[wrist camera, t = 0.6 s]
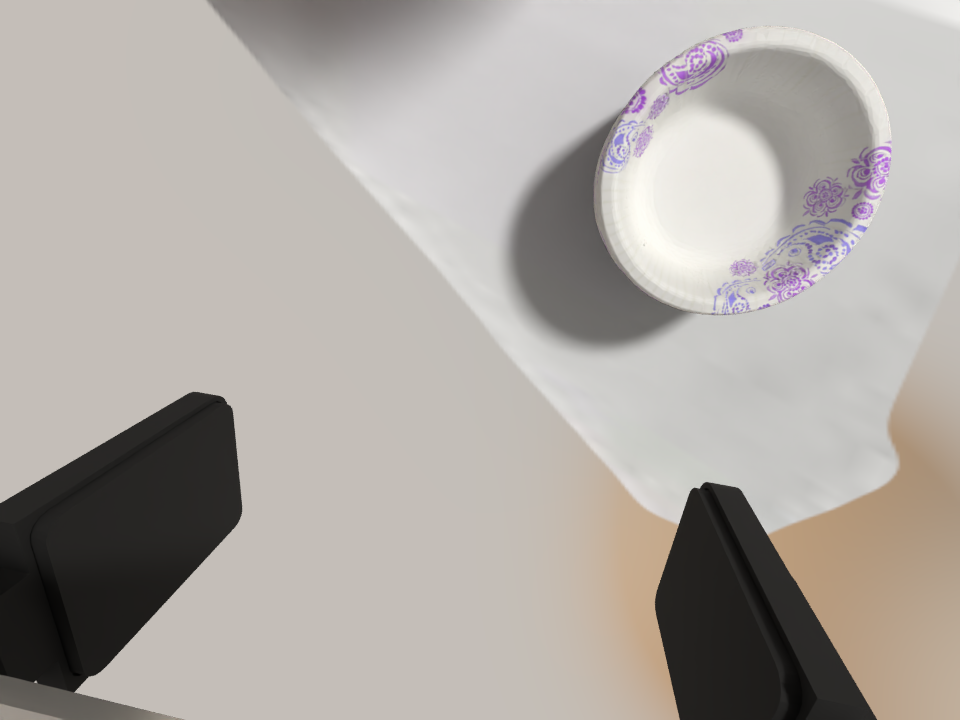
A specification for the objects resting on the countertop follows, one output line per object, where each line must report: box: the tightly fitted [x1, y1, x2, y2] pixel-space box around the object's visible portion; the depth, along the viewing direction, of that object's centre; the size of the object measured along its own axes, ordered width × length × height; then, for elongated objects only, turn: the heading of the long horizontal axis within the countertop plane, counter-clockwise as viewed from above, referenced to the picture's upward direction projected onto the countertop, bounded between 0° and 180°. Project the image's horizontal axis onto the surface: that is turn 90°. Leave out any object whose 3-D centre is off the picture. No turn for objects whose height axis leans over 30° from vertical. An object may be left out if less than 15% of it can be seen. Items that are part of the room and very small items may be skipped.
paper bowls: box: [593, 26, 891, 315], centre depth 30 cm, size 15×15×8 cm
